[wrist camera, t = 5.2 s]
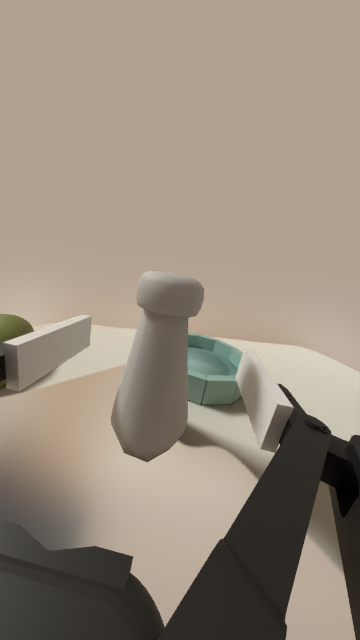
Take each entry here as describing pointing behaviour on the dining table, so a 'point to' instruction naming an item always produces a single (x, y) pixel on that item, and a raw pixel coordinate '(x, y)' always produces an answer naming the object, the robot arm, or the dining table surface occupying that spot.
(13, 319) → the pear
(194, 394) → the dish
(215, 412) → the dining table surface
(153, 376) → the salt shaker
